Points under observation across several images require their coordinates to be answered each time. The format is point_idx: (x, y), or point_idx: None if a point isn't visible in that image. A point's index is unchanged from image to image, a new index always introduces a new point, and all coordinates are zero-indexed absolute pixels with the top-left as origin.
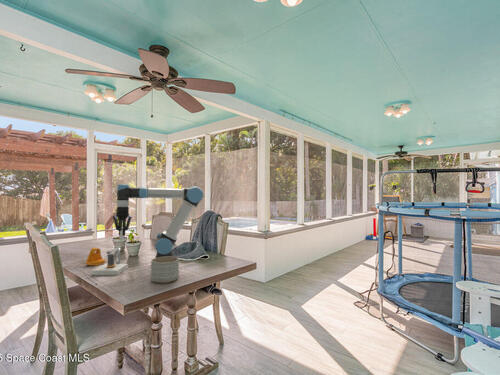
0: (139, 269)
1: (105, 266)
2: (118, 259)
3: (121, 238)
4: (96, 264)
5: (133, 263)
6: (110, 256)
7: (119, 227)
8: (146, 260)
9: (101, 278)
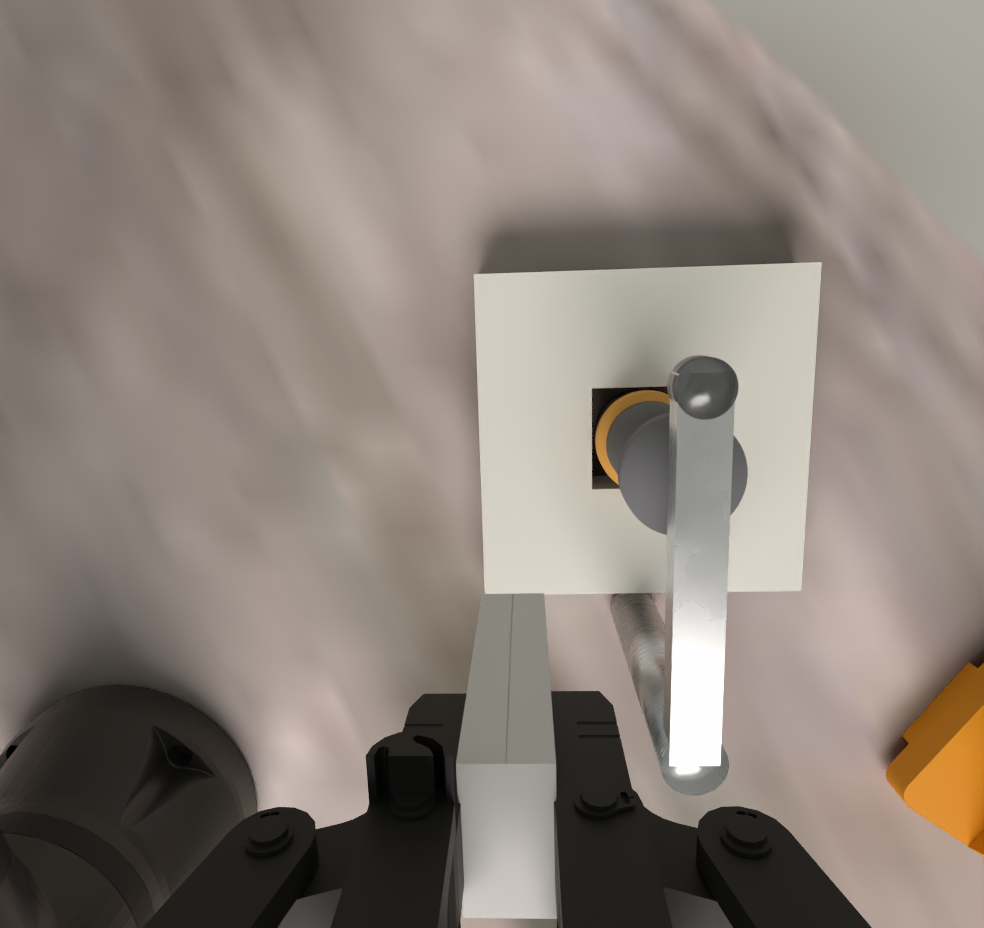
0: (313, 523)
1: None
2: (634, 637)
3: (497, 621)
4: (959, 686)
5: None
6: (662, 414)
7: (617, 916)
8: None
9: (605, 132)
